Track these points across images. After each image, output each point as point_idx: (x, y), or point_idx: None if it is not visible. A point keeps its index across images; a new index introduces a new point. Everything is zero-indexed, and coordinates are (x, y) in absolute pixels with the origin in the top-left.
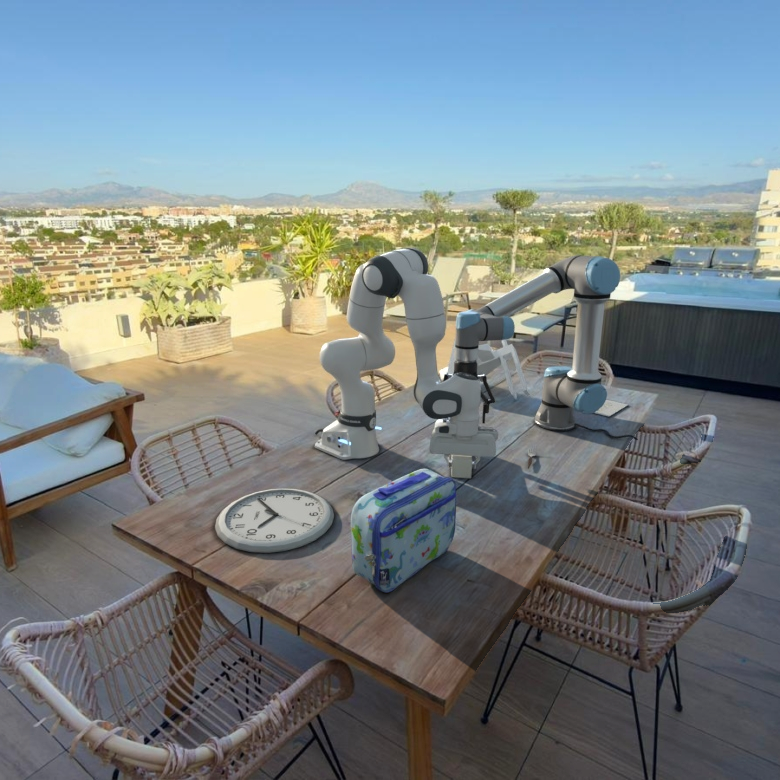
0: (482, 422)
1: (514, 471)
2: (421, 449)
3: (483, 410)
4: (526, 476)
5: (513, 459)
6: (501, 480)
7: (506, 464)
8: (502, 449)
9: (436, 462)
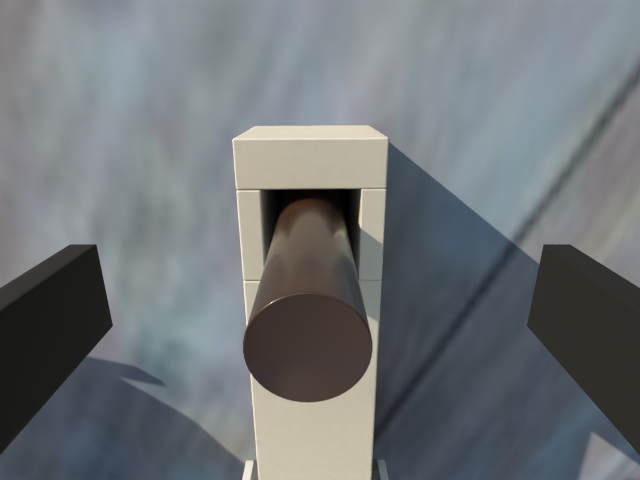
0: (532, 324)
1: (567, 387)
2: (73, 208)
3: (637, 446)
4: (606, 422)
5: (609, 261)
6: (484, 466)
7: None
8: (590, 125)
9: (191, 354)
